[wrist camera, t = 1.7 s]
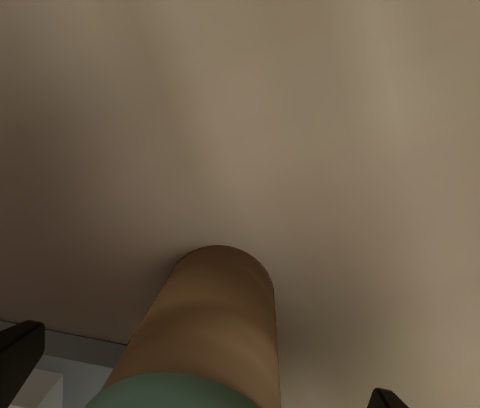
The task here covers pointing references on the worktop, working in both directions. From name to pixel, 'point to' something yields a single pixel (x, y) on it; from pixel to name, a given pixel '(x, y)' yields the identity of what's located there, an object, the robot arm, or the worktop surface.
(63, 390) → the socket board
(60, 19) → the worktop surface
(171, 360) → the sleeve
